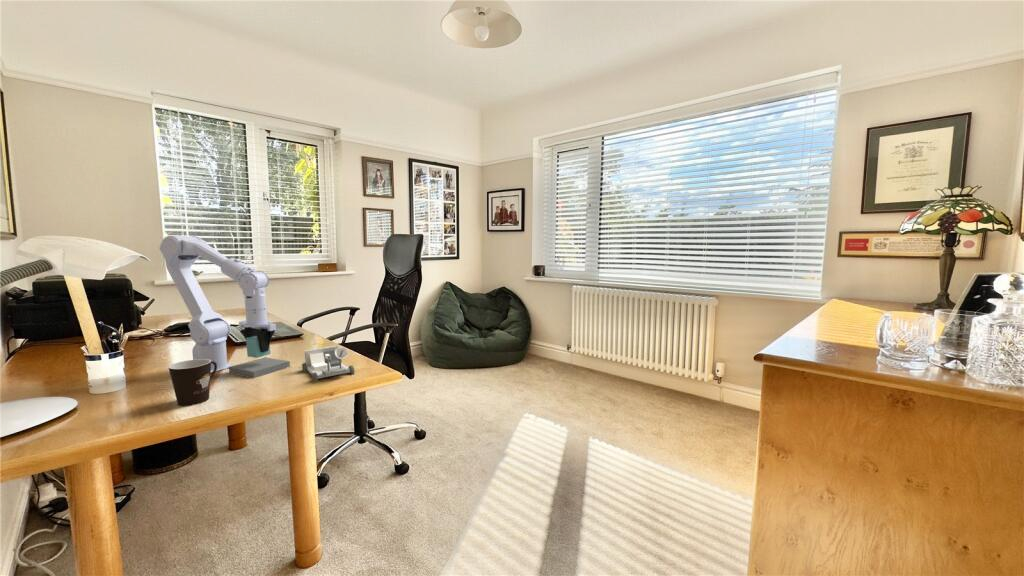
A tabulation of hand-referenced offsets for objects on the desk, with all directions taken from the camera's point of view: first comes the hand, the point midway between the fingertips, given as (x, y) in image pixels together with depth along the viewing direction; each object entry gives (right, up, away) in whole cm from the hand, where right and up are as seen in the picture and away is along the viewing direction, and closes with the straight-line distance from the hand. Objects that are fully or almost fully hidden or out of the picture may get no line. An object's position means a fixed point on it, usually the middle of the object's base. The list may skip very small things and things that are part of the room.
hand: (259, 350), depth 128 cm
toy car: (+24, -7, -2) cm, 25 cm away
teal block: (0, -2, 0) cm, 2 cm away
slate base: (0, -7, +1) cm, 7 cm away
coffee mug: (0, -9, -23) cm, 25 cm away
